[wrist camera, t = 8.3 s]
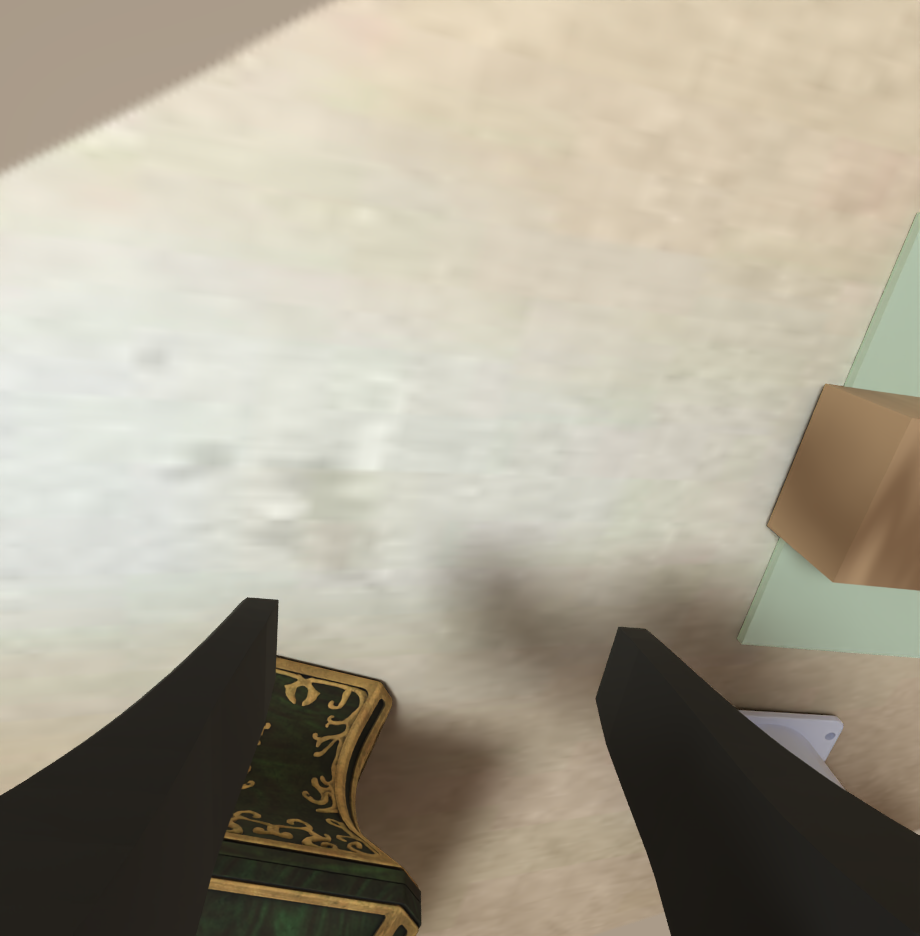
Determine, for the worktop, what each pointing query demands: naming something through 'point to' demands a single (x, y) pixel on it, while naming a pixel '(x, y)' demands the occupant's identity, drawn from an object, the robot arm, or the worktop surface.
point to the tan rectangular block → (857, 489)
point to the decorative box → (309, 822)
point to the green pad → (794, 578)
